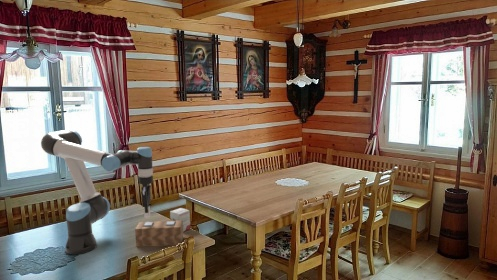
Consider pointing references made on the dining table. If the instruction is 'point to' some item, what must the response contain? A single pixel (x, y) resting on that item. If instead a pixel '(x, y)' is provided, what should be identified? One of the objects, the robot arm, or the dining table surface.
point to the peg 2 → (170, 223)
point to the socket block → (159, 234)
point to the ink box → (181, 217)
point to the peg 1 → (148, 224)
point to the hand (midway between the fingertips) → (147, 217)
